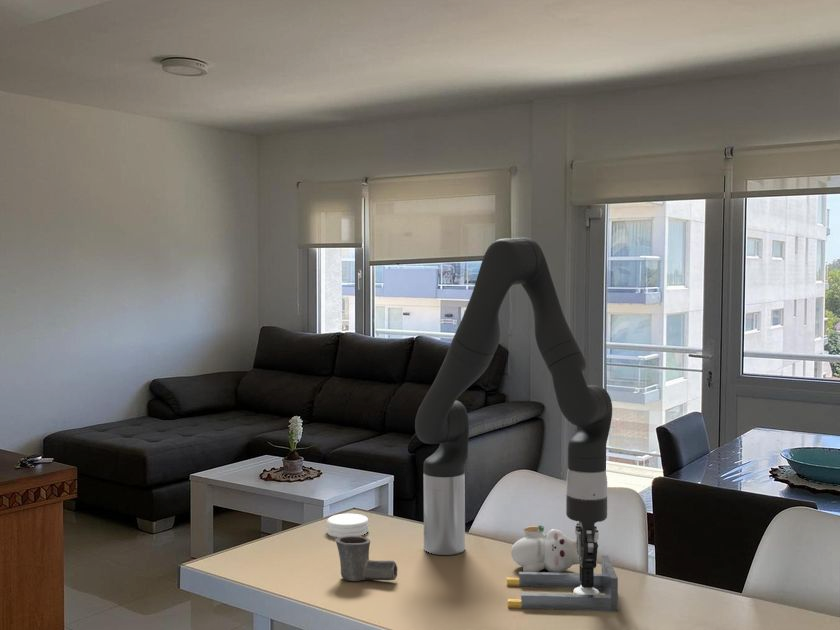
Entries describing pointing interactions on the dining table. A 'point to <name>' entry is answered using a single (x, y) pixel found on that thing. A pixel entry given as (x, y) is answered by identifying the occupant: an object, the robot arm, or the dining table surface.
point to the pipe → (362, 561)
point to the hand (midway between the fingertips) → (586, 583)
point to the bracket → (567, 601)
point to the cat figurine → (545, 550)
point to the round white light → (347, 525)
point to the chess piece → (585, 589)
